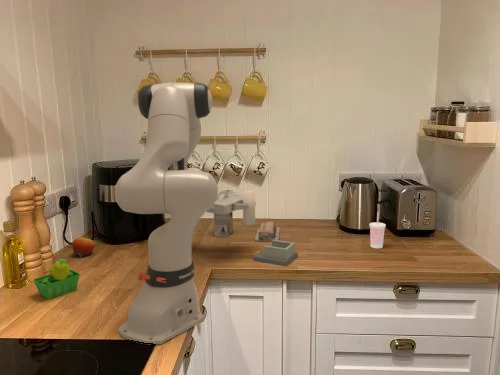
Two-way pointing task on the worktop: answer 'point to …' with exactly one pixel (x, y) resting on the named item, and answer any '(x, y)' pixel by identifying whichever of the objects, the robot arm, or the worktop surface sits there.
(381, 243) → the beverage cup
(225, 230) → the coffee box
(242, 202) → the robot arm
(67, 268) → the fruit basket
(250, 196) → the tall white cylinder
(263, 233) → the packaged product
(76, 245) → the fruit
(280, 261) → the cradle jig
